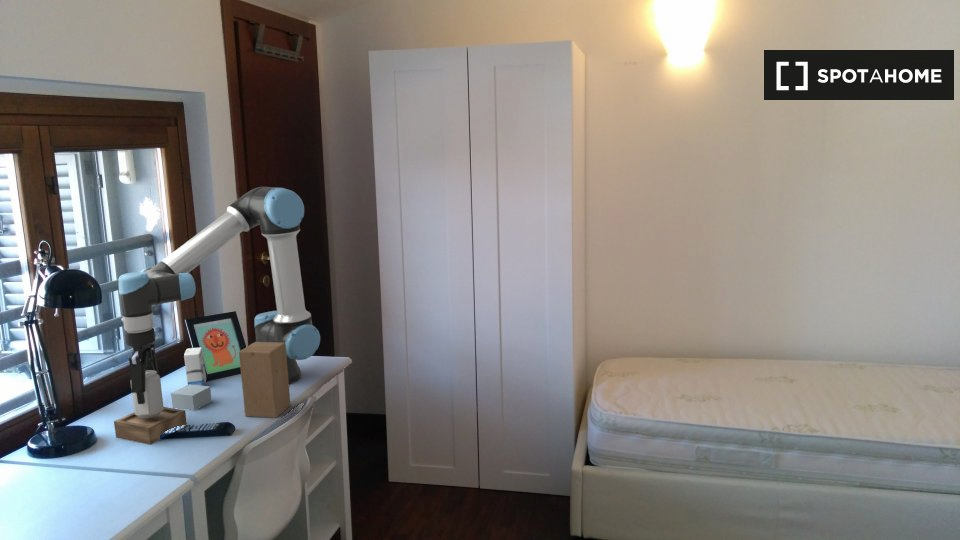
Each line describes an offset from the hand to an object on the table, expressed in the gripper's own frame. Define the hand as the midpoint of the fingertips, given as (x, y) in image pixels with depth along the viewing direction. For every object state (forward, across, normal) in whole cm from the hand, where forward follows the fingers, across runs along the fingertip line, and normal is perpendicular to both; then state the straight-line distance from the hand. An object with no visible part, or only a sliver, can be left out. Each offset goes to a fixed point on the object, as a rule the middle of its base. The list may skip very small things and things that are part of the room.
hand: (148, 408), depth 209 cm
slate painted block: (+7, -20, +6) cm, 22 cm away
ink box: (+7, -38, +2) cm, 39 cm away
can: (+2, 0, 0) cm, 2 cm away
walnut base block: (+7, 0, 0) cm, 7 cm away
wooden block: (+7, -10, +30) cm, 33 cm away
